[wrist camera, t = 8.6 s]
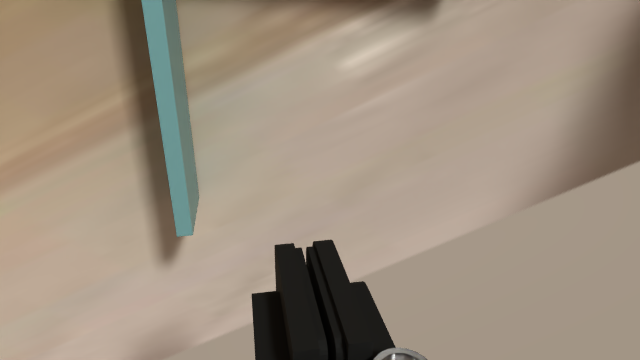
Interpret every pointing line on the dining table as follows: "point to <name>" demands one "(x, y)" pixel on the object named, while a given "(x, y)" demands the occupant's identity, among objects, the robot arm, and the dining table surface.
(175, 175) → the side door
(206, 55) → the dining table surface
